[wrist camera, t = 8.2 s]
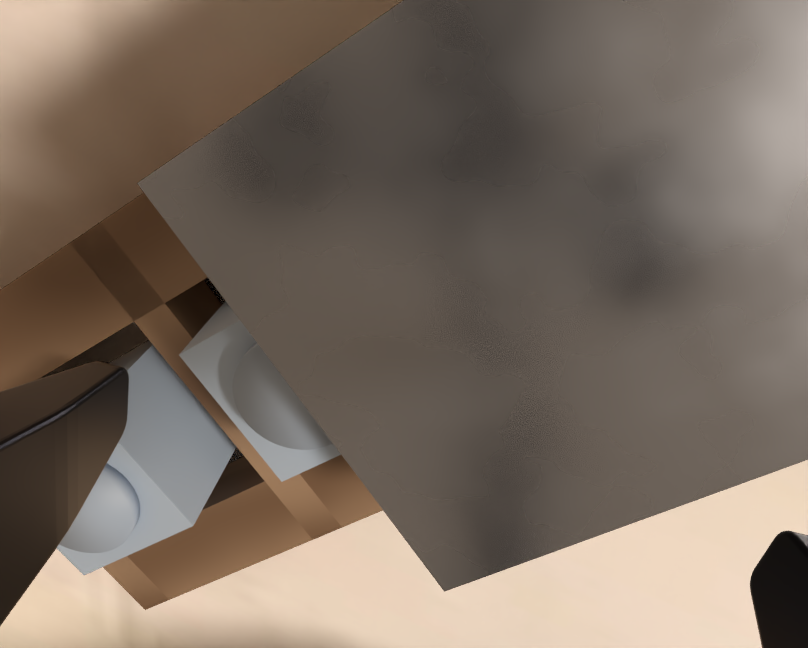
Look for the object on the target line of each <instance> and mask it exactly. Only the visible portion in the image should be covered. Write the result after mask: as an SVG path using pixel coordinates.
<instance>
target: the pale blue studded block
mask: <svg viewBox="0 0 808 648" xmlns="http://www.w3.org/2000/svg"><path fill="white" fill-rule="evenodd" d="M179 356H180V357H181V358H182V359H183V361H184V362H185V363H186V364H187V366H188V367H189V368H190V369H191V371H192V372H193V373H194V374H195V376H196V377H197V378H198V379H199V380H200V382H201V383H202V384H203V385H204V387H205V388H206V389H207V390H208V392H209V393H210V394H211V395H212V397H213V398H214V399H215V400H216V401H217V403H218V404H219V405H220V406H221V408H222V409H223V410H224V411H225V413H226V414H227V415H228V416H229V418H230V419H231V420H232V421H233V422H234V424H235V425H236V426H237V427H238V429H239V430H240V431H241V432H242V434H243V435H244V436H245V437H246V439H247V440H248V441H249V442H250V443H251V445H252V446H253V447H254V448H255V450H256V451H257V452H258V453H259V455H260V456H261V457H262V458H263V460H264V461H265V462H266V463H267V464H268V466H269V467H270V468H271V469H272V471H273V472H274V473H275V474H276V476H277V477H278V478H279V479H280V480H281V482H283V481H285V480H287V479H289V478H291V477H294V476H296V475H298V474H300V473H302V472H304V471H306V470H309V469H311V468H313V467H315V466H317V465H319V464H322V463H324V462H326V461H328V460H330V459H332V458H335V457H337V456H339V455H341V453H340V452H339V451H338V450H337V448H336V447H335V446H334V444H333V443H332V442H331V440H330V439H329V438H328V436H327V435H326V434H325V432H324V431H323V430H322V428H321V427H320V426H319V424H318V423H317V422H316V420H315V419H314V418H313V416H312V415H311V414H310V412H309V411H308V410H307V408H306V407H305V406H304V404H303V403H302V402H301V400H300V399H299V398H298V396H297V395H296V394H295V392H294V391H293V390H292V388H291V387H290V386H289V384H288V383H287V382H286V380H285V379H284V378H283V376H282V375H281V374H280V372H279V371H278V370H277V369H276V367H275V366H274V365H273V363H272V362H271V361H270V359H269V358H268V357H267V355H266V354H265V353H264V351H263V350H262V349H261V347H260V346H259V345H258V343H257V342H256V341H255V339H254V338H253V337H252V335H251V334H250V333H249V331H248V330H247V329H246V327H245V326H244V325H243V323H242V322H241V321H240V319H239V318H238V317H237V315H236V314H235V313H234V311H233V310H232V309H231V307H230V306H229V305H228V303H227V302H226V301H225V302H224V303H223V304H222V306H221V307H220V308H219V309H218V310H217V311H216V313H215V314H214V315H213V316H212V317H211V318H210V319H209V321H208V322H207V323H206V324H205V325H204V326H203V328H202V329H201V330H200V331H199V332H198V333H197V334H196V336H195V337H194V338H193V339H192V340H191V341H190V342H189V344H188V345H187V346H186V347H185V348H184V349H183V351H182V352H181V353H180V354H179Z"/></svg>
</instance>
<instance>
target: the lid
mask: <svg viewBox="0 0 808 648" xmlns="http://www.w3.org/2000/svg"><path fill="white" fill-rule="evenodd" d="M137 184H138V185H139V187H140V188H141V189H142V191H143V192H144V193H145V195H146V196H147V197H148V199H149V200H150V201H151V203H152V204H153V205H154V207H155V208H156V209H157V210H158V212H159V213H160V214H161V216H162V217H163V218H164V220H165V221H166V222H167V224H168V225H169V226H170V228H171V229H172V230H173V232H174V233H175V234H176V236H177V237H178V238H179V240H180V241H181V242H182V244H183V245H184V246H185V248H186V249H187V250H188V252H189V253H190V254H191V256H192V257H193V258H194V260H195V261H196V262H197V264H198V265H199V266H200V268H201V269H202V270H203V272H204V273H205V274H206V276H207V277H208V278H209V280H210V281H211V282H212V284H213V285H214V286H215V288H216V289H217V290H218V291H219V293H220V294H221V295H222V297H223V298H224V299H225V301H226V302H227V303H228V305H229V306H230V307H231V309H232V310H233V311H234V313H235V314H236V315H237V317H238V318H239V319H240V321H241V322H242V323H243V325H244V326H245V327H246V329H247V330H248V331H249V333H250V334H251V335H252V337H253V338H254V339H255V341H256V342H257V343H258V345H259V346H260V347H261V349H262V350H263V351H264V353H265V354H266V355H267V357H268V358H269V359H270V361H271V362H272V363H273V365H274V366H275V367H276V369H277V370H278V371H279V372H280V374H281V375H282V376H283V378H284V379H285V380H286V382H287V383H288V384H289V386H290V387H291V388H292V390H293V391H294V392H295V394H296V395H297V396H298V398H299V399H300V400H301V402H302V403H303V404H304V406H305V407H306V408H307V410H308V411H309V412H310V414H311V415H312V416H313V418H314V419H315V420H316V422H317V423H318V424H319V426H320V427H321V428H322V430H323V431H324V432H325V434H326V435H327V436H328V438H329V439H330V440H331V442H332V443H333V444H334V446H335V447H336V448H337V450H338V451H339V452H340V453H341V455H342V456H343V457H344V459H345V460H346V461H347V463H348V464H349V465H350V467H351V468H352V469H353V471H354V472H355V473H356V475H357V476H358V477H359V479H360V480H361V481H362V483H363V484H364V485H365V487H366V488H367V489H368V491H369V492H370V493H371V495H372V496H373V497H374V499H375V500H376V501H377V503H378V504H379V505H380V507H381V508H382V509H383V511H384V512H385V513H386V515H387V516H388V517H389V519H390V520H391V521H392V523H393V524H394V525H395V527H396V528H397V529H398V531H399V532H400V533H401V534H402V536H403V537H404V538H405V540H406V541H407V542H408V544H409V545H410V546H411V548H412V549H413V550H414V552H415V553H416V554H417V556H418V557H419V558H420V560H421V561H422V562H423V564H424V565H425V566H426V568H427V569H428V570H429V572H430V573H431V574H432V576H433V577H434V578H435V580H436V581H437V582H438V584H439V585H440V586H441V588H442V589H443V590H444V591H447V590H450V589H453V588H455V587H458V586H461V585H464V584H466V583H469V582H472V581H475V580H477V579H480V578H483V577H486V576H488V575H491V574H494V573H497V572H499V571H502V570H505V569H508V568H510V567H513V566H516V565H519V564H521V563H524V562H527V561H530V560H532V559H535V558H538V557H541V556H543V555H546V554H549V553H552V552H554V551H557V550H560V549H563V548H565V547H568V546H571V545H574V544H577V543H579V542H582V541H585V540H588V539H590V538H593V537H596V536H599V535H601V534H604V533H607V532H610V531H612V530H615V529H618V528H621V527H623V526H626V525H629V524H632V523H634V522H637V521H640V520H643V519H645V518H648V517H651V516H654V515H656V514H659V513H662V512H665V511H667V510H670V509H673V508H676V507H678V506H681V505H684V504H687V503H689V502H692V501H695V500H698V499H700V498H703V497H706V496H709V495H711V494H714V493H717V492H720V491H723V490H725V489H728V488H731V487H734V486H736V485H739V484H742V483H745V482H747V481H750V480H753V479H756V478H758V477H761V476H764V475H767V474H769V473H772V472H775V471H778V470H780V469H783V468H786V467H789V466H791V465H794V464H797V463H800V462H802V461H805V460H808V0H403V1H402V2H401V3H399V4H398V5H396V6H395V7H393V8H392V9H390V10H389V11H387V12H386V13H384V14H383V15H382V16H380V17H379V18H377V19H376V20H374V21H373V22H371V23H370V24H368V25H367V26H366V27H364V28H363V29H361V30H360V31H358V32H357V33H355V34H354V35H352V36H351V37H350V38H348V39H347V40H345V41H344V42H342V43H341V44H339V45H338V46H336V47H335V48H333V49H332V50H331V51H329V52H328V53H326V54H325V55H323V56H322V57H320V58H319V59H317V60H316V61H315V62H313V63H312V64H310V65H309V66H307V67H306V68H304V69H303V70H301V71H300V72H298V73H297V74H296V75H294V76H293V77H291V78H290V79H288V80H287V81H285V82H284V83H282V84H281V85H280V86H278V87H277V88H275V89H274V90H272V91H271V92H269V93H268V94H266V95H265V96H263V97H262V98H261V99H259V100H258V101H256V102H255V103H253V104H252V105H250V106H249V107H247V108H246V109H245V110H243V111H242V112H240V113H239V114H237V115H236V116H234V117H233V118H231V119H230V120H228V121H227V122H226V123H224V124H223V125H221V126H220V127H218V128H217V129H215V130H214V131H212V132H211V133H210V134H208V135H207V136H205V137H204V138H202V139H201V140H199V141H198V142H196V143H195V144H194V145H192V146H191V147H189V148H188V149H186V150H185V151H183V152H182V153H180V154H179V155H177V156H176V157H175V158H173V159H172V160H170V161H169V162H167V163H166V164H164V165H163V166H161V167H160V168H159V169H157V170H156V171H154V172H153V173H151V174H150V175H148V176H147V177H145V178H144V179H142V180H141V181H140V182H138V183H137Z"/></svg>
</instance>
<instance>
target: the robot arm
mask: <svg viewBox="0 0 808 648" xmlns="http://www.w3.org/2000/svg"><path fill="white" fill-rule="evenodd" d="M128 392H129V375H128V371H127V370H126V369H125V368H124V367H121V366H117V365H113V364H109V363H105V362H101V361H94V362H90V363H87V364H84V365H81V366H78V367H75V368H71V369H68V370H65V371H62V372H59V373H56V374H53V375H50V376H47V377H44V378H40V379H37V380H34V381H31V382H28V383H25V384H22V385H19V386H16V387H13V388H9V389H6V390H3V391H0V626H1V624H2V623H3V622H4V620H5V619H6V617H7V616H8V615H9V613H10V612H11V610H12V609H13V608H14V606H15V605H16V603H17V602H18V601H19V599H20V598H21V597H22V595H23V594H24V592H25V591H26V590H27V588H28V587H29V585H30V584H31V583H32V581H33V580H34V579H35V577H36V576H37V574H38V573H39V572H40V570H41V569H42V567H43V566H44V565H45V563H46V562H47V560H48V559H49V558H50V556H51V555H52V554H53V552H54V551H55V549H56V548H57V547H58V545H59V544H60V542H61V541H62V539H63V538H64V536H65V535H66V533H67V532H68V530H69V529H70V527H71V525H72V524H73V522H74V520H75V519H76V517H77V515H78V513H79V512H80V510H81V508H82V506H83V505H84V503H85V501H86V499H87V497H88V496H89V494H90V492H91V490H92V489H93V487H94V485H95V483H96V481H97V480H98V478H99V476H100V474H101V472H102V471H103V469H104V467H105V465H106V464H107V462H108V460H109V458H110V456H111V455H112V453H113V451H114V449H115V448H116V446H117V444H118V442H119V440H120V439H121V437H122V435H123V432H124V430H125V427H126V423H127V415H128ZM750 590H751V596H752V600H753V605H754V610H755V615H756V620H757V625H758V629H759V634H760V639H761V644H762V648H808V535H804V534H800V533H796V532H792V531H783V532H781V533H780V534H778V535H777V536H776V537H775V539H774V540H773V542H772V543H771V545H770V546H769V548H768V549H767V551H766V552H765V554H764V555H763V557H762V558H761V560H760V561H759V563H758V564H757V566H756V567H755V569H754V571H753V573H752V576H751V581H750Z"/></svg>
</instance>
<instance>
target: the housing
mask: <svg viewBox="0 0 808 648" xmlns="http://www.w3.org/2000/svg"><path fill="white" fill-rule="evenodd" d="M206 278H207V276H206V274H205V273H204V272H203V270H202V269H201V268H200V266H199V265H198V264H197V262H196V261H195V260H194V258H193V257H192V256H191V254H190V253H189V252H188V250H187V249H186V248H185V246H184V245H183V244H182V242H181V241H180V240H179V238H178V237H177V236H176V234H175V233H174V232H173V230H172V229H171V228H170V226H169V225H168V224H167V222H166V221H165V220H164V218H163V217H162V216H161V214H160V213H159V212H158V210H157V209H156V208H155V207H154V205H153V204H152V203H151V201H150V200H149V199H148V197H147V196H146V195H145V193H143V194H141V195H140V196H138V197H137V198H135V199H134V200H132V201H131V202H129V203H128V204H127V205H125V206H124V207H122V208H121V209H119V210H118V211H116V212H115V213H113V214H112V215H110V216H109V217H107V218H106V219H104V220H103V221H101V222H100V223H98V224H97V225H96V226H94V227H93V228H91V229H90V230H88V231H87V232H85V233H84V234H82V235H81V236H79V237H78V238H76V239H75V240H73V241H72V242H70V243H69V244H67V245H66V246H65V247H63V248H62V249H60V250H59V251H57V252H56V253H54V254H53V255H51V256H50V257H48V258H47V259H45V260H44V261H42V262H41V263H39V264H38V265H36V266H35V267H33V268H32V269H31V270H29V271H28V272H26V273H25V274H23V275H22V276H20V277H19V278H17V279H16V280H14V281H13V282H11V283H10V284H8V285H7V286H5V287H4V288H2V289H1V290H0V391H3V390H6V389H9V388H13V387H16V386H19V385H22V384H25V383H28V382H31V381H34V380H37V379H40V378H41V377H43V376H44V375H46V374H48V373H49V372H51V371H53V370H54V369H56V368H58V367H59V366H61V365H63V364H64V363H66V362H68V361H69V360H71V359H73V358H74V357H76V356H78V355H79V354H81V353H83V352H84V351H86V350H88V349H89V348H91V347H93V346H94V345H96V344H98V343H99V342H101V341H103V340H104V339H106V338H108V337H109V336H111V335H113V334H114V333H116V332H118V331H119V330H121V329H123V328H124V327H126V326H128V325H129V324H131V323H133V322H135V323H136V325H137V326H138V327H139V328H140V329H141V331H142V332H143V333H144V334H145V336H146V337H147V338H148V339H149V340H150V342H151V343H152V344H153V345H154V347H155V348H156V349H157V350H158V351H159V353H160V354H161V355H162V356H163V358H164V359H165V360H166V361H167V362H168V364H169V365H170V366H171V367H172V368H173V370H174V371H175V372H176V373H177V375H178V376H179V377H180V378H181V379H182V381H183V382H184V383H185V384H186V386H187V387H188V388H189V389H190V390H191V392H192V393H193V394H194V395H195V397H196V398H197V399H198V400H199V401H200V403H201V404H202V405H203V406H204V408H205V409H206V410H207V411H208V412H209V414H210V415H211V416H212V417H213V419H214V420H215V421H216V422H217V423H218V425H219V426H220V427H221V428H222V430H223V431H224V432H225V433H226V434H227V436H228V437H229V438H230V439H231V441H232V442H233V443H234V444H235V445H236V447H237V448H238V449H239V450H240V451H241V453H242V454H243V455H244V456H243V457H241V458H239V459H237V460H235V461H233V462H231V463H229V464H227V465H226V467H225V469H224V471H223V473H222V474H221V476H220V478H219V480H218V482H217V484H216V485H215V487H214V489H213V491H212V493H211V495H210V496H209V498H208V500H207V502H206V504H205V506H204V507H203V509H202V511H201V513H200V515H199V517H198V518H197V520H196V522H195V524H194V526H192V527H190V528H188V529H185V530H183V531H181V532H179V533H177V534H174V535H172V536H170V537H168V538H166V539H163V540H161V541H159V542H157V543H155V544H152V545H150V546H148V547H146V548H143V549H141V550H139V551H137V552H135V553H132V554H130V555H128V556H126V557H124V558H121V559H119V560H117V561H115V562H113V563H110V564H108V565H106V566H104V567H103V568H104V569H105V570H106V571H107V572H108V573H109V574H110V575H111V576H112V577H113V578H114V579H115V580H116V581H117V582H118V583H119V584H120V585H121V586H122V587H123V588H124V589H125V590H126V591H127V592H128V593H129V594H130V595H131V596H132V597H133V598H134V599H135V600H136V601H137V602H138V603H139V604H140V605H141V606H142V607H143V608H144V609H145V610H146V609H148V608H151V607H153V606H155V605H158V604H160V603H163V602H165V601H167V600H170V599H172V598H175V597H177V596H179V595H182V594H184V593H187V592H189V591H191V590H194V589H196V588H198V587H201V586H203V585H206V584H208V583H210V582H213V581H215V580H218V579H220V578H222V577H225V576H227V575H230V574H232V573H234V572H237V571H239V570H241V569H244V568H246V567H249V566H251V565H253V564H256V563H258V562H261V561H263V560H265V559H268V558H270V557H272V556H275V555H277V554H280V553H282V552H284V551H287V550H289V549H292V548H294V547H296V546H299V545H301V544H304V543H306V542H308V541H311V540H313V539H315V538H318V537H320V536H323V535H325V534H327V533H330V532H332V531H335V530H337V529H339V528H342V527H344V526H346V525H349V524H351V523H354V522H356V521H358V520H361V519H363V518H366V517H368V516H370V515H373V514H375V513H378V512H380V511H382V510H383V509H382V508H381V507H380V505H379V504H378V503H377V501H376V500H375V499H374V497H373V496H372V495H371V493H370V492H369V491H368V489H367V488H366V487H365V485H364V484H363V483H362V481H361V480H360V479H359V477H358V476H357V475H356V473H355V472H354V471H353V469H352V468H351V467H350V465H349V464H348V463H347V461H346V460H345V459H344V457H343V456H342V455H339V456H337V457H335V458H332V459H330V460H328V461H326V462H324V463H322V464H319V465H317V466H315V467H313V468H311V469H309V470H306V471H304V472H302V473H300V474H298V475H296V476H294V477H291V478H289V479H287V480H285V481H283V482H281V480H280V479H279V478H278V477H277V476H276V474H275V473H274V472H273V471H272V469H271V468H270V467H269V466H268V464H267V463H266V462H265V461H264V460H263V458H262V457H261V456H260V455H259V453H258V452H257V451H256V450H255V448H254V447H253V446H252V445H251V443H250V442H249V441H248V440H247V439H246V437H245V436H244V435H243V434H242V432H241V431H240V430H239V429H238V427H237V426H236V425H235V424H234V422H233V421H232V420H231V419H230V418H229V416H228V415H227V414H226V413H225V411H224V410H223V409H222V408H221V406H220V405H219V404H218V403H217V401H216V400H215V399H214V398H213V397H212V395H211V394H210V393H209V392H208V390H207V389H206V388H205V387H204V385H203V384H202V383H201V382H200V380H199V379H198V378H197V377H196V376H195V374H194V373H193V372H192V371H191V369H190V368H189V367H188V366H187V364H186V363H185V362H184V361H183V359H182V358H181V357H180V356H179V354H180V353H181V352H182V351H183V349H184V348H185V347H186V346H187V345H188V344H189V342H190V341H191V340H192V339H193V338H194V337H195V336H196V334H197V333H198V332H199V331H200V330H201V329H202V328H203V326H204V325H205V324H206V323H207V322H208V321H209V319H210V318H211V317H212V316H213V315H214V314H215V313H216V311H217V310H218V309H219V308H220V307H221V306H222V304H221V302H220V301H219V300H218V298H217V297H216V296H215V294H214V293H213V292H212V291H211V289H210V288H209V287H208V285H207V284H206V283H205V281H204V279H206Z"/></svg>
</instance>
